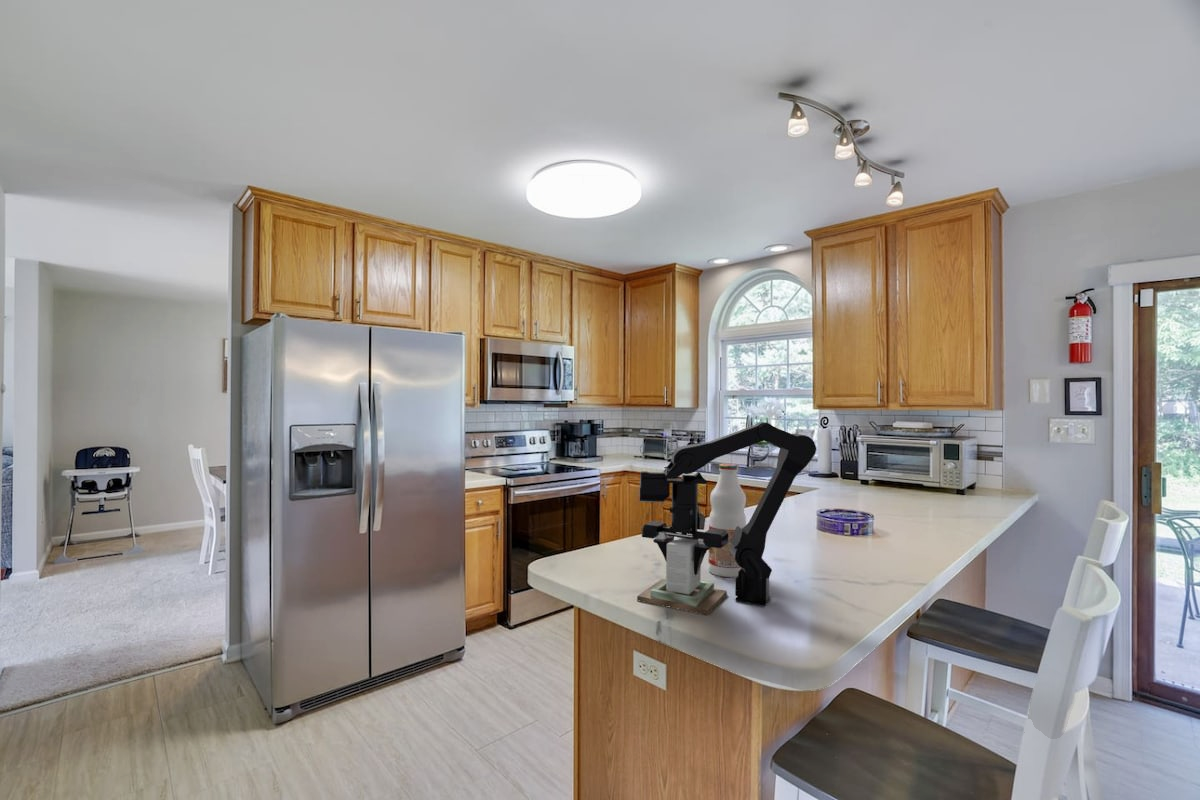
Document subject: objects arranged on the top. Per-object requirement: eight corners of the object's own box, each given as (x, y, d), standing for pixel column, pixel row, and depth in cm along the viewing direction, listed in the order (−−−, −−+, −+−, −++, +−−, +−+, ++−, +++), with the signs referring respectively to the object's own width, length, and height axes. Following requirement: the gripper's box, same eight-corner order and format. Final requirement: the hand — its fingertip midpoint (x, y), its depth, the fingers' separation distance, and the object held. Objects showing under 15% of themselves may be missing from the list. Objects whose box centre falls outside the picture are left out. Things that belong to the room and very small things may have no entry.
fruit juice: (730, 580, 138) (732, 467, 138) (700, 571, 145) (702, 463, 145) (752, 573, 144) (754, 465, 144) (723, 564, 151) (725, 461, 151)
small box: (677, 580, 130) (678, 535, 130) (700, 585, 127) (701, 538, 127) (665, 591, 123) (665, 543, 123) (689, 595, 120) (690, 546, 120)
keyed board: (726, 595, 127) (726, 584, 127) (707, 615, 115) (707, 603, 115) (661, 582, 135) (662, 572, 135) (637, 600, 123) (637, 589, 123)
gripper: (735, 501, 127) (734, 569, 127) (660, 493, 136) (659, 557, 136) (721, 509, 118) (720, 583, 118) (641, 500, 127) (640, 569, 127)
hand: (683, 572), depth 125 cm, fingers closed on small box, 6 cm apart
